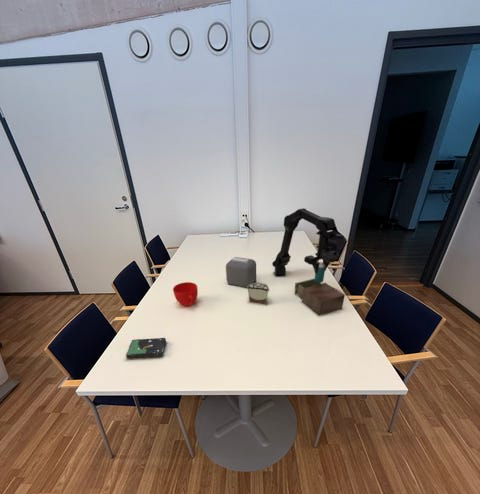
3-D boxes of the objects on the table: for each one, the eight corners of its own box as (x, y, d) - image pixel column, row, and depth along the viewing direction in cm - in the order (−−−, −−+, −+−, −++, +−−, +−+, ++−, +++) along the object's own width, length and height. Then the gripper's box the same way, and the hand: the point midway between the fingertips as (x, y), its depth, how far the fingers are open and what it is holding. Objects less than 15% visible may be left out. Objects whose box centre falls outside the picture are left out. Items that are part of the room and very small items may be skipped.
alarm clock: (256, 281, 168) (256, 258, 159) (249, 289, 159) (248, 264, 151) (233, 277, 174) (232, 254, 165) (225, 284, 165) (223, 261, 156)
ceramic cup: (182, 315, 138) (179, 298, 132) (173, 301, 150) (170, 285, 145) (205, 308, 142) (203, 292, 137) (194, 295, 155) (192, 280, 149)
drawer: (290, 290, 154) (291, 280, 151) (309, 286, 158) (310, 275, 155) (308, 305, 140) (310, 294, 136) (329, 299, 144) (331, 288, 140)
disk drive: (166, 342, 120) (133, 344, 119) (165, 337, 118) (131, 339, 117) (162, 357, 111) (126, 359, 110) (161, 352, 110) (125, 354, 109)
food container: (271, 299, 148) (271, 283, 142) (268, 305, 143) (269, 288, 138) (250, 296, 152) (250, 281, 146) (247, 302, 147) (246, 285, 141)
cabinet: (301, 301, 145) (303, 288, 140) (323, 296, 149) (325, 282, 145) (318, 315, 133) (321, 301, 128) (341, 309, 137) (344, 294, 133)
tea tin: (316, 283, 145) (318, 266, 140) (312, 279, 149) (315, 262, 144) (324, 282, 146) (327, 265, 140) (321, 278, 150) (323, 261, 144)
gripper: (318, 252, 127) (314, 281, 136) (349, 246, 133) (343, 274, 141) (305, 245, 136) (302, 273, 145) (334, 240, 141) (330, 267, 150)
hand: (319, 272), depth 145 cm, fingers closed on tea tin, 5 cm apart
